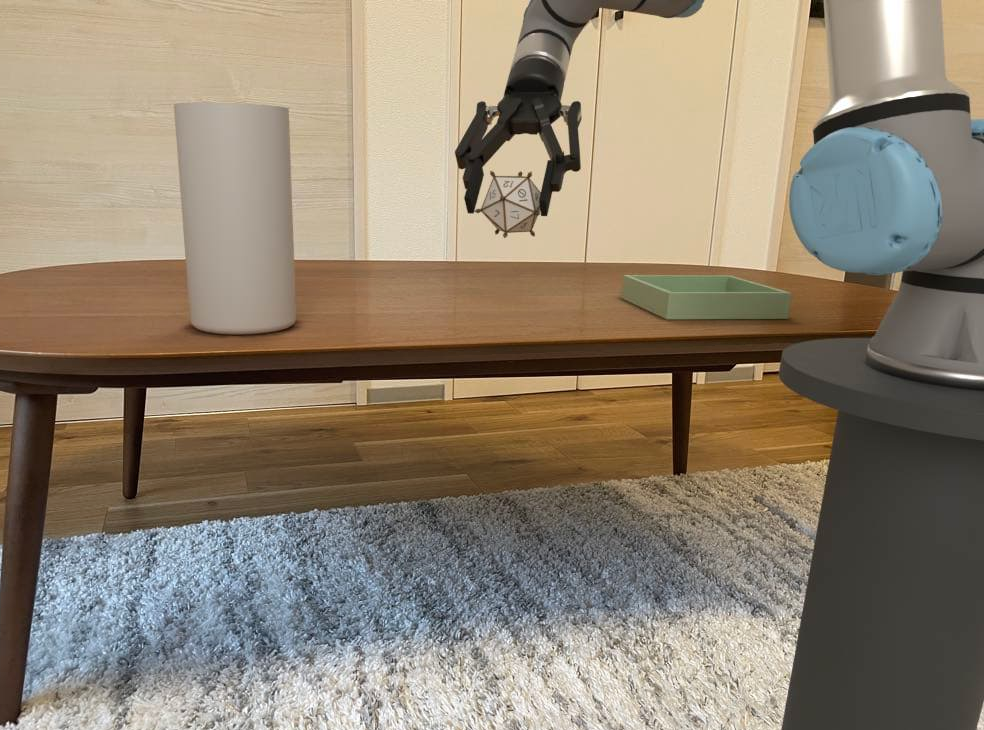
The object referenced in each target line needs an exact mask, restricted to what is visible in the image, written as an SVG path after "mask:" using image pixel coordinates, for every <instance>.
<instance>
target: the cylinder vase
mask: <svg viewBox="0 0 984 730" xmlns="http://www.w3.org/2000/svg"><path fill="white" fill-rule="evenodd" d="M173 111H174V125H175V138H176V140H175V141H176V153H177V165H178V178H179V191H180V203H181V205H180V206H181V216H182V229H183V241H184V242H183V243H184V244H183V245H184V256H185V269H186V270H185V271H186V283H187V295H188V296H187V297H188V309H189V310H188V311H189V320H190V324H191V325H192V327H194V328H195V329H196V330H199V331H202V332H205V333H209V334H216V335H233V336H235V335H238V336H239V335H240V336H243V335H260V334H269V333H274V332H279V331H283V330H285V329H289V328H290V327H292V326H293V325H294V324H295V322H296V320H297V303H296V302H297V301H296V275H295V273H296V272H295V269H296V268H295V247H294V246H295V245H294V218H293V214H294V213H293V191H292V190H293V188H292V163H291V162H292V161H291V159H292V158H291V134H290V133H291V132H290V131H291V130H290V108H289V107H286V106H285V107H284V106H279V105H268V104H257V103H256V104H255V103H254V104H253V103H239V102H238V103H237V102H207V101H206V102H205V101H204V102H201V101H200V102H199V101H198V102H197V101H196V102H177V103H174V104H173Z"/></svg>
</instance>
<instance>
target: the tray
mask: <svg viewBox="0 0 984 730" xmlns="http://www.w3.org/2000/svg"><path fill="white" fill-rule="evenodd" d="M621 287H622V288H621V299H622V300H624V301H627V302H629V303H631V304H633V305H635V306H637V307H639V308H641V309H644V310H646V311H648V312H650V313H652V314H653V315H654V314H655V315H656V316H658V317H660V318H663V319H664V320H788V319H789V317H790V310H791V304H792V297H793V292H790V291H786V290H783V289H779V288H776V287H772V286H768V285H765V284H762V283H758V282H755V281H751V280H748V279H744V278H742V277H741V278H740V277H738V276H733V275H729V274H727V275H726V274H725V275H723V274H720V275H719V274H718V275H717V274H716V275H715V274H714V275H712V274H711V275H710V274H709V275H708V274H707V275H706V274H705V275H702V274H701V275H699V274H697V275H695V274H693V275H692V274H691V275H690V274H689V275H688V274H686V275H685V274H679V275H678V274H624V275H622V286H621Z"/></svg>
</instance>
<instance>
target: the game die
mask: <svg viewBox="0 0 984 730" xmlns="http://www.w3.org/2000/svg"><path fill="white" fill-rule="evenodd" d="M489 175H490V177H492V179H491V182H490V185H489V188H488V190H487V192H486V195H485V197H484V200H483V202H482V205H481V208H475V210H474V213H476V214H480V213H482V214H483V215H484V216H485V217H486V218H487V220H488V221H489V222H490V223H491V224H492V225H493V226H494V227H495V228H496V229H495V230H494V235H495V236H496V235H499V233H500V232H503V233H502V237H503V238H504V239H506V238H508V233H509V234H510V233H529V234H530V236H532V237H534V238H535V237H536V232H535V231H534V230H533V229H534V226H535V224H536V222H537V219H538V217H539V216H541V212H540V204H539V198H540V194H541V190H540V189H539V188H538V187H537V186H536V185H535V183H534V182H533V180H532V179H531V178H532V177H533V171H529V172H528V173H527V175H526V176H523V172H522V170H520V171H519V172H517V175H496V173H495V171H493V170H489Z"/></svg>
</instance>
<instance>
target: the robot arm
mask: <svg viewBox="0 0 984 730" xmlns="http://www.w3.org/2000/svg"><path fill="white" fill-rule="evenodd" d="M704 2H705V0H529V2H528V5H527V6H526V8H525V10H524V13H523V19H522V25H521V29H520V33H519V36H518V40H517V44H516V49H515V52H514V55H513V59H512V62H511V65H510V69H509V74H508V77H507V81H506V84H505V88H504V91H503V97H502V98H501V100H500V101H499V102H498V103H497V104H495V105H487V103H486V102H485V101H484V100H483V101H479V102H477V104H476V111H475V115H474V117H473V119H472V120H471V122H470V124H469V125H468V127H467V129H466V131H465V133H464V135H463V136H462V138H461V140H460V141H459V143H458V145H457V147H456V148H455V150H454V156H455V159H456V164H457V167H458V169H459V170H464V171H463V174H462V181H463V186H464V189H465V193H464V197H463V199H464V203H465V208H466V213H467V214H472V215H473V214H475V212H474V211H475V210H476V206H477V203H478V198H479V195H480V191H481V188H482V185H483V181H484V177H485V173H484V166H486V165H487V163H488V162H489V161H490V160H491V159H492V158H493V156H495V154H496V153H497V152H498V151H499V150H500V149H501V148H502V146H503V145H504V144H505V143H506V142H510V141H511V140H512V139H513V138H514V136H516V135H524V134H527V135H534V136H535V135H536V136H537V135H539V138H540V140H541V143H543V145H544V148H545V150H546V153H547V155H548V158H549V159H548V160H547V163H546V167H545V172H544V176H543V180H542V185H541V190H540V192H541V194H540V198H539V204H540V217H548V214H549V210H550V206H551V200H552V195H553V193H555V192H556V193H559V192H560V191H561V190H562V187H563V182H564V177H565V174H566V173H567V172H569V171H571V172H575V173H577V172H579V171H581V170H582V164H581V162H582V161H581V147H580V135H579V127H580V125H581V122H582V119H583V118H582V117H583V116H582V103H581V101H579V100H575V101H573V102H571V103H570V105H566V104H565V105H564V104H562V96H563V93H564V89H565V88H564V87H565V82H566V79H567V75H568V69H569V66H570V65H569V64H570V61H571V56H572V51H573V47H574V44H575V42H576V41H577V39H578V37H579V35H580V34H581V33H582V31H583V30H584V29H585V27H586V26H587V25H588V23H589V22H590V21H591V20H592V18H593V17H594V15H595V14H596V13H597V11H598V10H599V9H606V10H614V11H620V12H629V13H635V14H636V13H637V14H641V15H649V16H656V17H660V18H662V19H663V18H664V19H674V18H679V19H685V18H689V17H692V16H694V15H695V14H697V13H698V12H699V11H700V10H701V9H702V7H703V4H704ZM823 11H824V27H825V40H826V41H825V43H826V56H827V70H828V72H827V73H828V86H829V99H830V103H829V105H828V107H827V109H826V110H825V112H823V114H822V115H821V116H820V117H819V118H818V120H817V121H816V122H815V123H814V125H813V127H812V133H813V145H812V146H811V147H810V148H809V150H807V151H806V152H805V154H804V155H803V157H802V159H800V161H799V165H800V169H799V170H798V171H797V172H795V173H794V174H793V176H792V180H791V183H790V187H789V196H788V205H789V206H788V207H789V214H790V221H791V223H792V226H793V229H794V232H795V234H796V236H797V238H798V240H799V242H800V243H801V244H802V246H803V247H804V249H805V250H806V251H807V252H808V253H809V254H810V255H812V256H813V257H814V258H816V259H817V260H818V261H820V262H821V263H822V264H824V266H827V267H829V268H831V269H835V270H837V271H840V272H845V273H854V274H855V273H856V274H857V273H858V274H865V275H870V276H884V275H890V274H897V273H901V279H900V284H899V288H898V291H897V293H896V295H895V297H893V300H892V302H891V304H890V305H889V308H888V309H887V310H886V313H885V314H884V316H883V318H882V320H881V322H880V323H879V326H878V328H877V330H876V332H875V334H874V335H872V337H870V338H871V340H870V343H869V345H868V348H867V354H866V359H865V362H866V363H867V365H869V366H870V367H872V368H873V369H875V370H878V371H880V372H883V373H885V374H889V375H892V376H895V377H899V378H903V379H906V380H911V381H915V382H920V383H925V384H930V385H936V386H943V387H949V388H957V389H965V390H975V391H984V118H972V117H971V116H972V115H971V101H970V100H971V99H970V98H971V97H970V94H969V92H968V91H967V90H965V89H963V88H961V87H959V86H958V85H957V84H955V83H953V82H952V81H949V80H948V77H947V73H946V56H945V54H946V53H945V37H944V20H943V2H942V0H823ZM496 117H498V118H497V120H496V123H495V124H494V126H492V128H491V129H489V131H488V128H489V126H491V125H492V122H493V121H494V119H495V118H496ZM561 117H562V118H563V122H564V123H565V125H566V126H567V132H568V147H569V154H565V151H564V150H563V148H562V147H561V145H560V142H559V140H558V138H557V136H556V134H555V133H556V132H555V131H554V128H553V126H552V124H553V123H555V122H556V121H557V120H559V119H560V118H561ZM487 131H488V132H487Z"/></svg>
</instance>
